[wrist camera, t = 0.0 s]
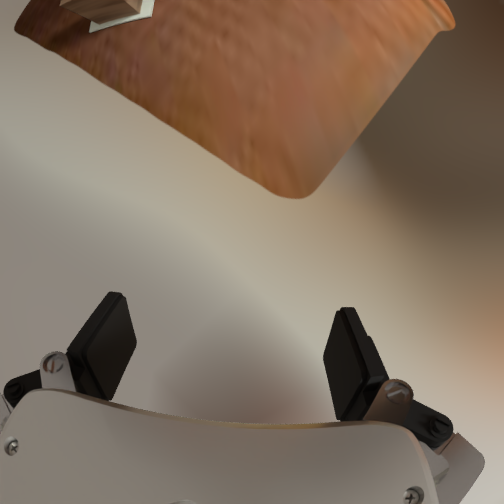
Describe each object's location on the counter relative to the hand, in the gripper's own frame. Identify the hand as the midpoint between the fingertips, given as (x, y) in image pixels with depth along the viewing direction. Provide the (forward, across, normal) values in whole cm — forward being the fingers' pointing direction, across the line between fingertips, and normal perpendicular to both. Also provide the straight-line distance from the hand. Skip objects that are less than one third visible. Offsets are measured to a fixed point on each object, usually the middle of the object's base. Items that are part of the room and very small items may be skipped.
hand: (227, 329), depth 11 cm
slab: (+31, +23, -32) cm, 50 cm away
